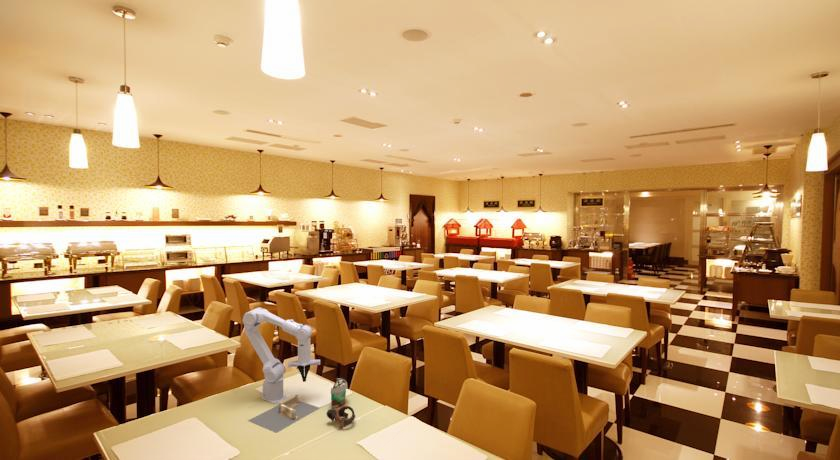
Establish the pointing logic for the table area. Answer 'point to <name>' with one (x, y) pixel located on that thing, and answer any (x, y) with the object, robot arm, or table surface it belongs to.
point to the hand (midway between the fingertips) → (304, 380)
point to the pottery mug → (340, 413)
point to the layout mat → (282, 417)
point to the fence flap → (288, 411)
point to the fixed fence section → (290, 402)
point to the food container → (338, 393)
